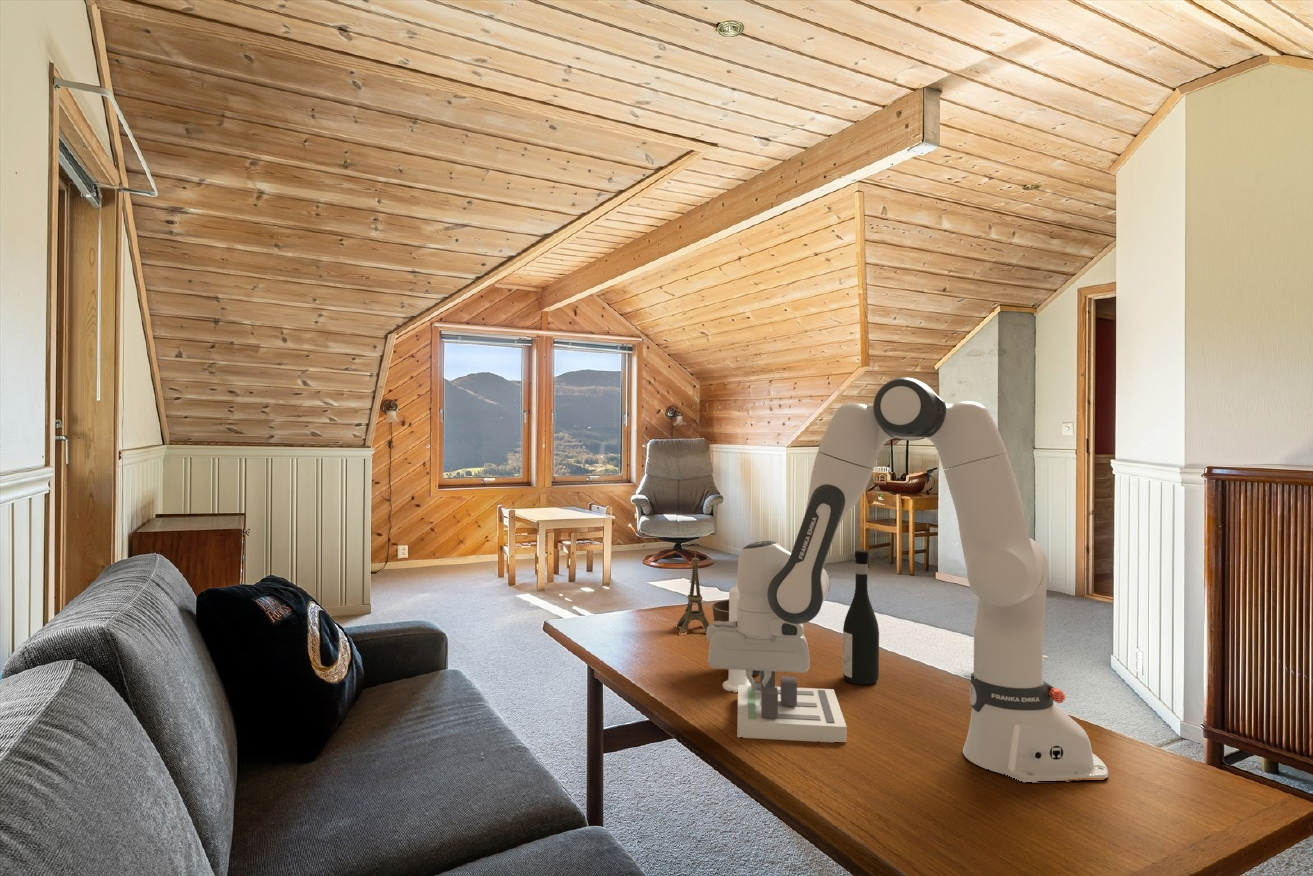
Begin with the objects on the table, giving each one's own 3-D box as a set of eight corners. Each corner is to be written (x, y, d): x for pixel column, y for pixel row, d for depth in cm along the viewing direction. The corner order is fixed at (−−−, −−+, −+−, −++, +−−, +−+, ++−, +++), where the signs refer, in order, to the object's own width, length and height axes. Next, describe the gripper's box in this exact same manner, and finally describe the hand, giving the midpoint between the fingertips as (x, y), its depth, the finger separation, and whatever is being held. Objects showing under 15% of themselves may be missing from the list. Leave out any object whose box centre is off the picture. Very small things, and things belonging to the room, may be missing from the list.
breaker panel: (833, 703, 162) (833, 688, 162) (846, 743, 141) (846, 725, 141) (738, 699, 164) (738, 684, 164) (737, 737, 143) (737, 720, 143)
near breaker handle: (776, 710, 148) (777, 687, 148) (777, 717, 144) (777, 694, 144) (761, 709, 148) (761, 686, 148) (761, 717, 144) (761, 693, 144)
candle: (753, 694, 167) (754, 579, 167) (720, 691, 169) (721, 578, 168) (755, 683, 174) (756, 574, 174) (724, 681, 176) (725, 572, 175)
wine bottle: (841, 684, 174) (842, 552, 174) (843, 673, 182) (844, 547, 182) (878, 687, 172) (879, 554, 172) (878, 677, 180) (880, 549, 180)
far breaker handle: (774, 686, 162) (774, 665, 162) (774, 692, 158) (775, 671, 158) (759, 685, 162) (759, 665, 162) (760, 692, 158) (760, 670, 158)
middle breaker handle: (795, 698, 154) (795, 677, 154) (796, 705, 150) (797, 683, 150) (780, 698, 154) (780, 676, 154) (781, 705, 150) (781, 682, 150)
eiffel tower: (710, 626, 227) (711, 541, 227) (715, 635, 217) (716, 547, 216) (674, 626, 226) (675, 541, 226) (678, 635, 216) (679, 547, 216)
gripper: (705, 624, 151) (705, 694, 151) (811, 628, 149) (810, 699, 149) (707, 616, 157) (706, 684, 157) (808, 620, 155) (807, 688, 155)
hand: (758, 691), depth 153 cm, fingers closed
